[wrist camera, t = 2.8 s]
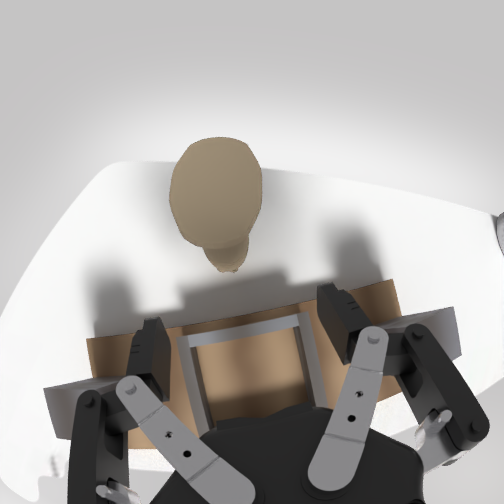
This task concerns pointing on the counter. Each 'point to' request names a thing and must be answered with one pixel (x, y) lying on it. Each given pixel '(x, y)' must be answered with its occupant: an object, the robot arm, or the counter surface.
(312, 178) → the counter surface
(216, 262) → the handle
